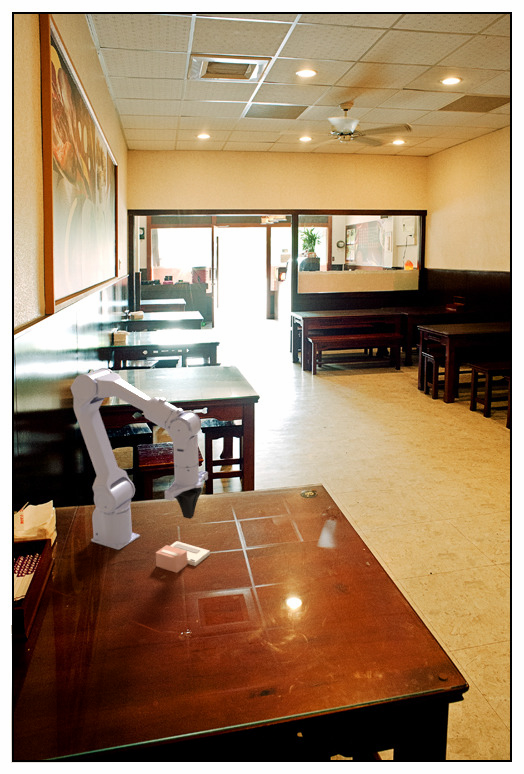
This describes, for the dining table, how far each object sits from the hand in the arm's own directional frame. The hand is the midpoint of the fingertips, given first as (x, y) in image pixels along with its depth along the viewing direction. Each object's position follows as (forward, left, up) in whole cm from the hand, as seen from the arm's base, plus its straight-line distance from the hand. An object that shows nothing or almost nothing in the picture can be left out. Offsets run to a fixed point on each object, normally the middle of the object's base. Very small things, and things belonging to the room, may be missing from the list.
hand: (188, 516), depth 135 cm
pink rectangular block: (0, -7, -9) cm, 12 cm away
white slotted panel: (0, -2, -9) cm, 9 cm away
